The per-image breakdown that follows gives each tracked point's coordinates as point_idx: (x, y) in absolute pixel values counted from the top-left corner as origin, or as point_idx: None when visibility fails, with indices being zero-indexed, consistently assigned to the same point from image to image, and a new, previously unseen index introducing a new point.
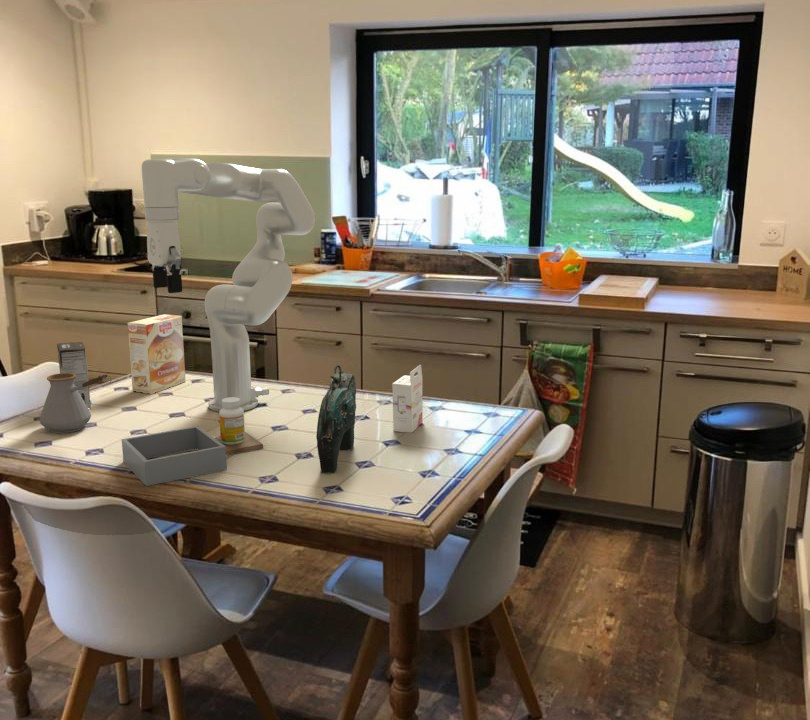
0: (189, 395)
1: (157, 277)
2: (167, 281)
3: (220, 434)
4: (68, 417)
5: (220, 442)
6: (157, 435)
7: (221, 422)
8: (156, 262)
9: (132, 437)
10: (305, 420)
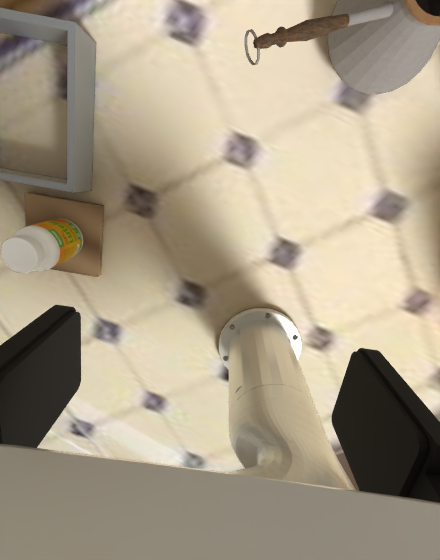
0: (374, 326)
1: (380, 418)
2: (12, 345)
3: (60, 221)
4: (340, 11)
5: (70, 219)
6: (69, 104)
7: (38, 223)
8: (30, 494)
9: (73, 48)
10: (117, 375)
